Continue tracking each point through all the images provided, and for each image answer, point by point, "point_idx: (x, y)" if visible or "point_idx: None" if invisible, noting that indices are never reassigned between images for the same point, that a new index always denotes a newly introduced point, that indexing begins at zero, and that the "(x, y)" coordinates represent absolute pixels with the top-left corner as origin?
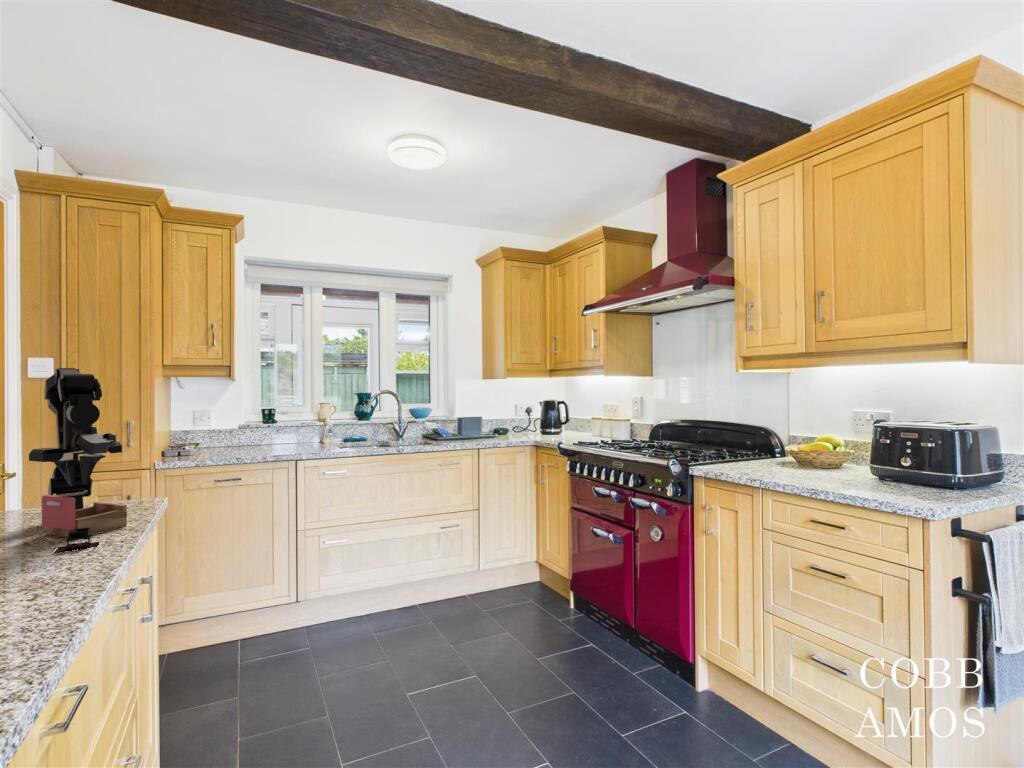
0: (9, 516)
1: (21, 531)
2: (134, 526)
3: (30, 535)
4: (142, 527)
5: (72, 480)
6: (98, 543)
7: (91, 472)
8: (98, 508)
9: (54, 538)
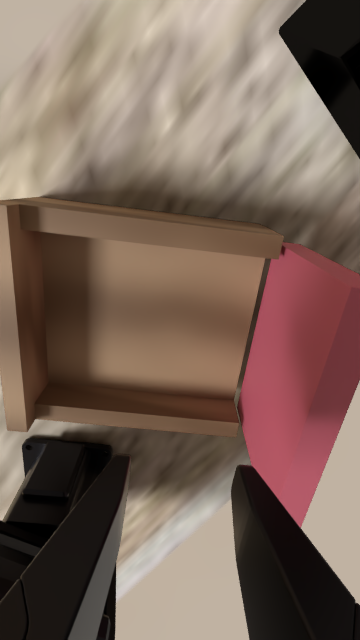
0: None
1: (213, 481)
2: (29, 147)
3: None
4: (24, 79)
5: (274, 512)
6: (336, 14)
7: (47, 553)
8: (36, 383)
9: None
